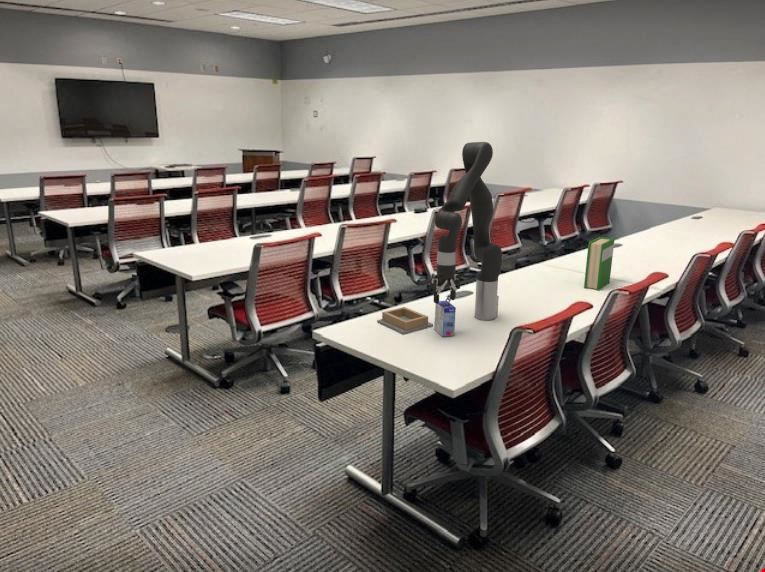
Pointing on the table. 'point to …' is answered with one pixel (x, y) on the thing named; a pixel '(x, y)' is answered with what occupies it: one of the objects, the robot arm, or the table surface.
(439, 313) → the ink cartridge box
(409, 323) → the pocket holder
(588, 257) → the hardback book
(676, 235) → the table surface
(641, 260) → the table surface
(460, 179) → the robot arm
